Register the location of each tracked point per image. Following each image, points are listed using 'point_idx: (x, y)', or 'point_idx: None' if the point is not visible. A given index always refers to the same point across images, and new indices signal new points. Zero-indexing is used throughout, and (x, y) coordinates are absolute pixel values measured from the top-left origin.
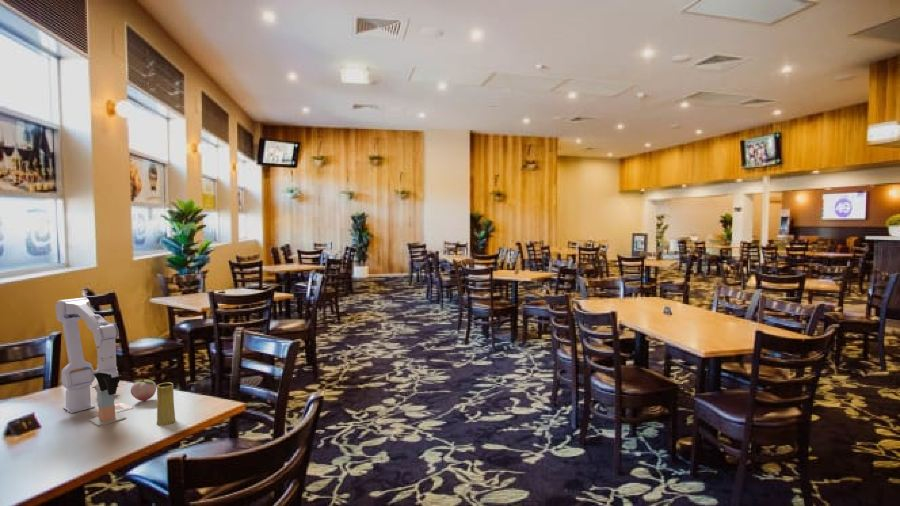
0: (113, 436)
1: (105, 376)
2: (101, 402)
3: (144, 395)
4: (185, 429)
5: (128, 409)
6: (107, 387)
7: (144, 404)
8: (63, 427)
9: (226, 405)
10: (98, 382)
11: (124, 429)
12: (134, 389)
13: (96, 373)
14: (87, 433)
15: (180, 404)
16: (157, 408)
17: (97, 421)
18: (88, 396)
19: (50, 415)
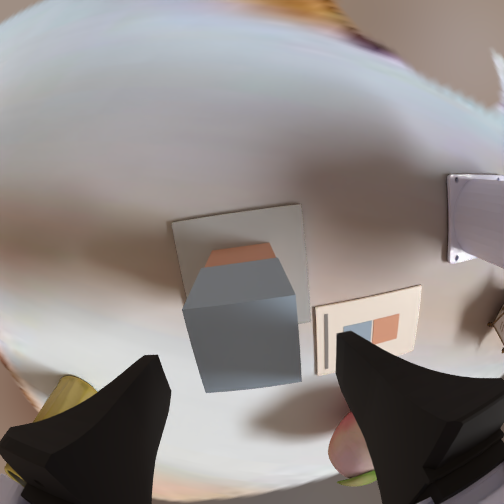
0: (37, 247)
1: (388, 459)
2: (197, 282)
3: (336, 432)
4: (23, 391)
5: (317, 362)
6: (108, 393)
7: (326, 406)
8: (289, 96)
9: None
10: (391, 366)
11: (77, 294)
12: None
13: (472, 433)
14: (119, 169)
15: (227, 463)
16: (49, 412)
17: (234, 229)
18: (489, 255)
19: (466, 118)
